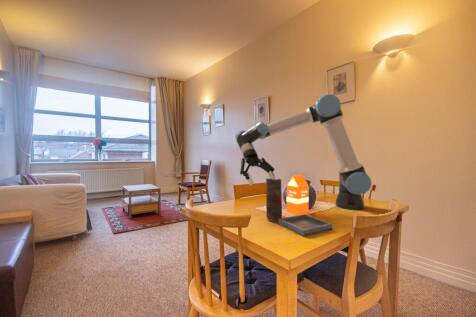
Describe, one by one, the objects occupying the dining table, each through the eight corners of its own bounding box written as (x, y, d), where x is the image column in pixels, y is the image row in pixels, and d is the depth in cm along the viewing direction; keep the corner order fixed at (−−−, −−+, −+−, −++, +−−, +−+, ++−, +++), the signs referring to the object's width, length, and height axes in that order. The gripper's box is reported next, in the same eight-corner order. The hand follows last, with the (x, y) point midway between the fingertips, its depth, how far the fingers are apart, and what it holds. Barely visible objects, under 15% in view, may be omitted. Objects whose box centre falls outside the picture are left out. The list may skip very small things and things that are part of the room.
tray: (305, 219, 109) (305, 213, 108) (332, 229, 94) (332, 224, 94) (278, 224, 101) (278, 218, 101) (303, 236, 87) (303, 230, 87)
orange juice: (308, 212, 119) (309, 175, 118) (298, 216, 113) (298, 176, 112) (296, 209, 125) (296, 173, 124) (286, 212, 120) (286, 175, 119)
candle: (262, 219, 108) (263, 178, 107) (272, 216, 113) (273, 176, 112) (275, 223, 102) (275, 179, 101) (285, 220, 107) (285, 178, 106)
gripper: (265, 156, 135) (280, 185, 122) (227, 157, 124) (239, 189, 111) (270, 148, 130) (286, 177, 117) (231, 148, 119) (244, 180, 106)
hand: (263, 183), depth 114 cm, fingers open, 13 cm apart
